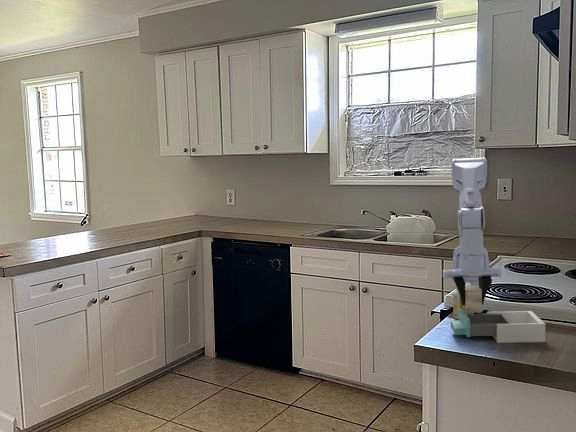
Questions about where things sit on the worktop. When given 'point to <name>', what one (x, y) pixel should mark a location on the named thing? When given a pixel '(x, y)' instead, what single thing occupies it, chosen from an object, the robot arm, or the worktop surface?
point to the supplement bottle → (458, 303)
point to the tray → (477, 324)
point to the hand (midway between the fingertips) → (472, 304)
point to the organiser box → (520, 327)
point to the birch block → (473, 299)
